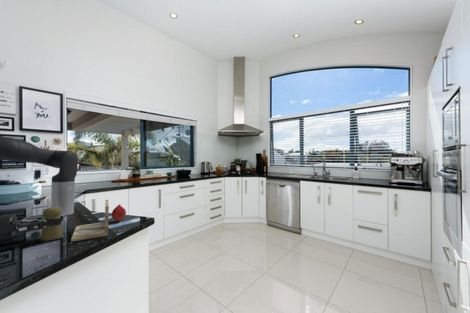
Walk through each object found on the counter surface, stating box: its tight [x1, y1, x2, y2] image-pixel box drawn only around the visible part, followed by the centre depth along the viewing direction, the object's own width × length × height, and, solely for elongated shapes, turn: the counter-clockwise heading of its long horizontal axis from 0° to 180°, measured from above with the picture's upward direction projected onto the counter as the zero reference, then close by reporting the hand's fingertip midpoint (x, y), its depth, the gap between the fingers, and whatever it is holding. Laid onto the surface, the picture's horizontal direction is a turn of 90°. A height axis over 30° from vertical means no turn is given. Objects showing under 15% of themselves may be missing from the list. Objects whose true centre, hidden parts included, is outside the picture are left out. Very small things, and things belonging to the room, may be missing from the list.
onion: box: [111, 204, 127, 222], centre depth 95 cm, size 6×6×8 cm
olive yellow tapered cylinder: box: [39, 206, 63, 242], centre depth 74 cm, size 6×6×11 cm
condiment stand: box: [70, 199, 110, 242], centre depth 81 cm, size 16×11×11 cm
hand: (61, 220), depth 76 cm, fingers closed on olive yellow tapered cylinder, 3 cm apart
